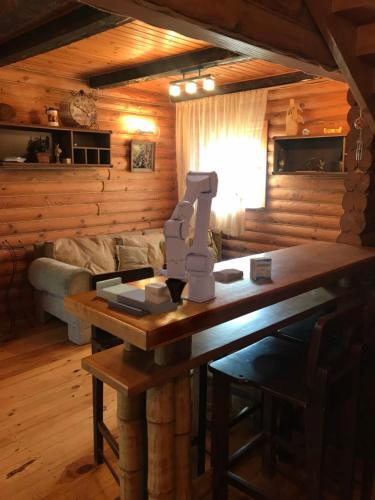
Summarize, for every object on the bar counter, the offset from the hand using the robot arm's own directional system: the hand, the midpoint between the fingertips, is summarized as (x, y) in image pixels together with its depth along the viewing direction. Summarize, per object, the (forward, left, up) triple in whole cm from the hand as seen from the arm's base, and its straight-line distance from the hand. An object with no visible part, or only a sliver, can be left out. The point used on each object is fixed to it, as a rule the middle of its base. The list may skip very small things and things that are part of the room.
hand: (176, 302), depth 134 cm
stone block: (-47, -17, -4) cm, 51 cm away
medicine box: (-56, -6, -4) cm, 57 cm away
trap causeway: (0, -19, -4) cm, 20 cm away
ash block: (0, -8, -1) cm, 8 cm away
